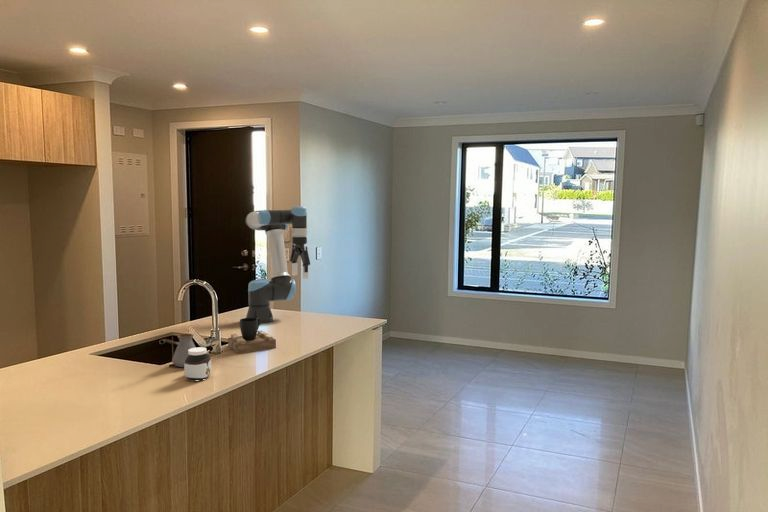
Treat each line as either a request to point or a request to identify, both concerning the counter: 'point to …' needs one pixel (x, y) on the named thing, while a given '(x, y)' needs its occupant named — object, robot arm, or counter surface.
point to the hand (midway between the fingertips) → (300, 276)
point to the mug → (249, 328)
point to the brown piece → (251, 342)
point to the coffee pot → (181, 348)
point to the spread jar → (197, 364)
